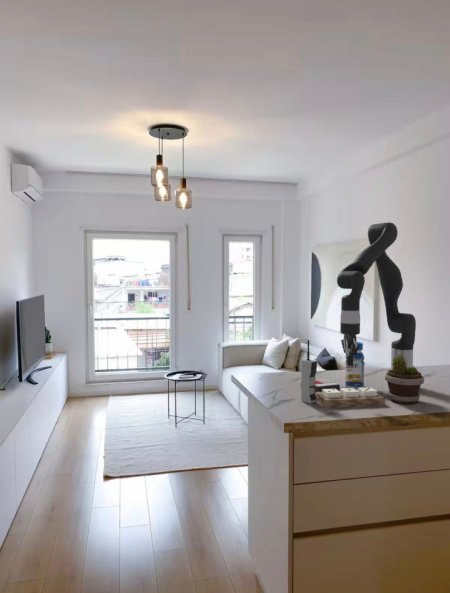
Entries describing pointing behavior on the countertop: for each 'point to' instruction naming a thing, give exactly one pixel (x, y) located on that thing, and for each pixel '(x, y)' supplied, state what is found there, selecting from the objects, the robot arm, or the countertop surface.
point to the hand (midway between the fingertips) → (349, 365)
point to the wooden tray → (350, 401)
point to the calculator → (325, 385)
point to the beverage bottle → (356, 370)
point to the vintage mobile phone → (308, 380)
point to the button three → (367, 392)
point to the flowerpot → (403, 382)
